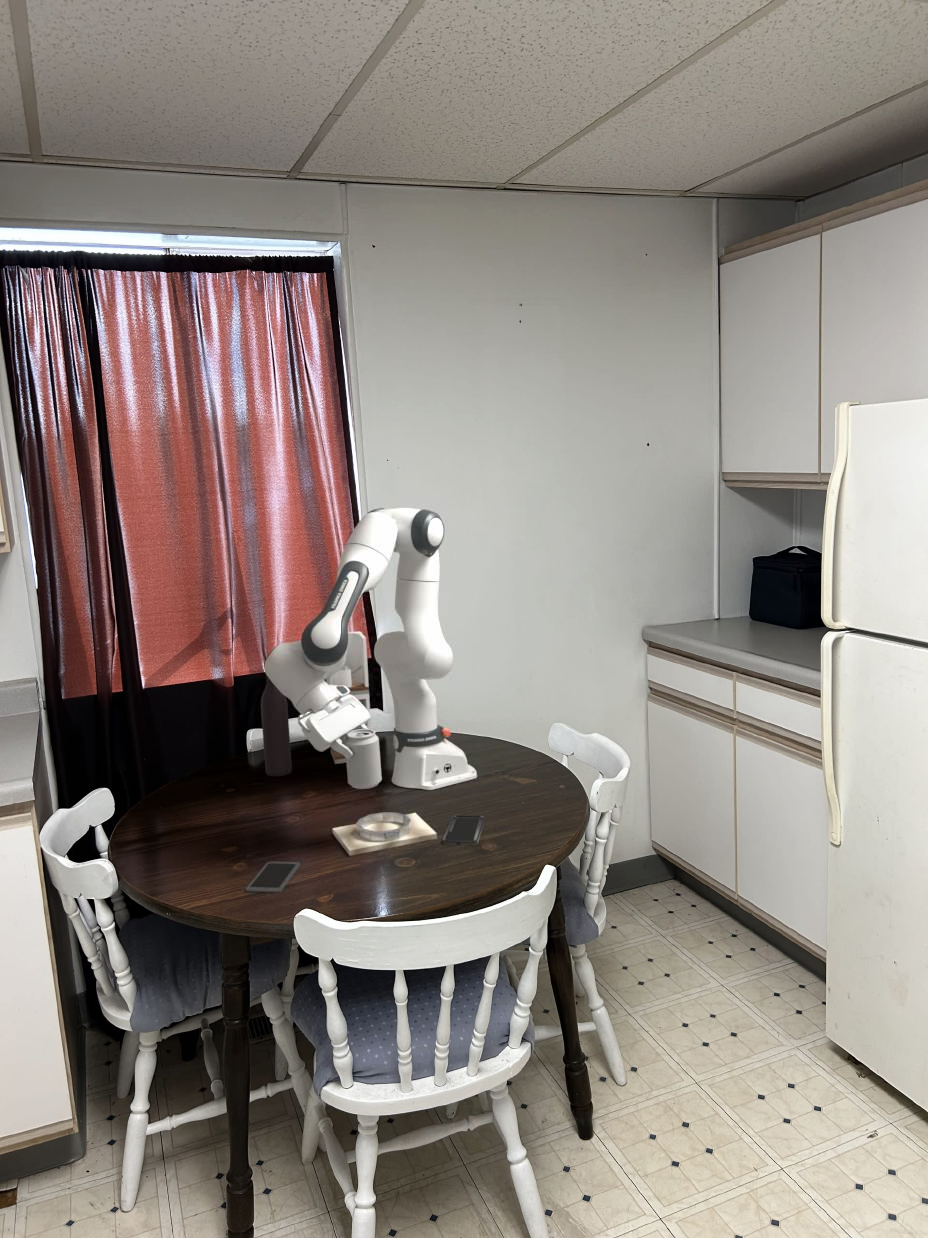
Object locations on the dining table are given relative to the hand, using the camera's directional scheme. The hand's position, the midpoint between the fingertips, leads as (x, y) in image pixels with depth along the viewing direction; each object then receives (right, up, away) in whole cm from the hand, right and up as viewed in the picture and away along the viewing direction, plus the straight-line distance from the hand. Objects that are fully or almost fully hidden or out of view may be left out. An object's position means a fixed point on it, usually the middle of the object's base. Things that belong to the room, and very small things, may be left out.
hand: (361, 749), depth 209 cm
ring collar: (+5, -19, +4) cm, 20 cm away
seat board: (+5, -20, +4) cm, 21 cm away
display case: (-10, -11, +64) cm, 65 cm away
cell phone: (-16, -25, -15) cm, 33 cm away
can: (+1, -8, +1) cm, 8 cm away
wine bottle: (-28, -14, +51) cm, 60 cm away
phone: (+23, -20, +5) cm, 30 cm away
